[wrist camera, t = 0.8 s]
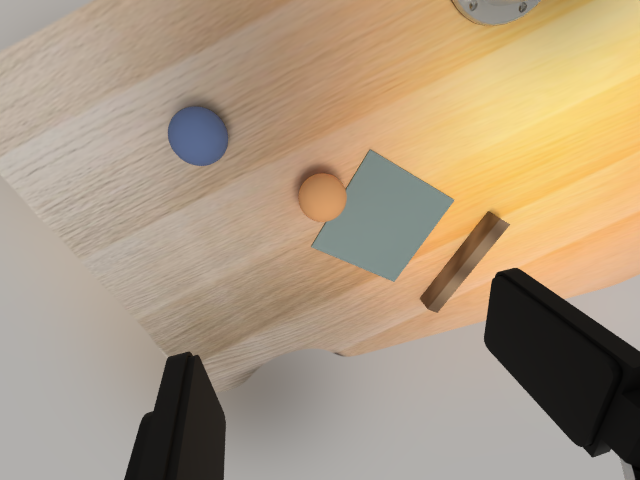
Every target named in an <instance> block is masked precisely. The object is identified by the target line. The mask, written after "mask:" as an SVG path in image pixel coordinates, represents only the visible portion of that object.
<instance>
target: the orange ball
mask: <svg viewBox="0 0 640 480" xmlns="http://www.w3.org/2000/svg"><path fill="white" fill-rule="evenodd" d="M298 199H299V205H300V208H301V209H302V211H303V213H304V214H305V215H306V216H307V217H309V218H310V219H312V220H314V221H318V222H327V221H331V220H333V219H335V218H336V217H338V216H339V215H340V214H341V213H342V211H343V210H344V208H345V205H346V201H347V195H346V190H345V188H344V186H343V184H342V183H341V181H340V180H339V179H337V178H336V177H334V176H332V175H330V174H325V173H320V174H315V175H313V176H311V177H309V178H308V179H307V180H306V181H305V182H304V183H303V184H302V186H301V188H300V191H299V196H298Z"/></svg>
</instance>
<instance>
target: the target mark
mask: <svg viewBox="0 0 640 480" xmlns="http://www.w3.org/2000/svg"><path fill="white" fill-rule="evenodd" d="M346 195H347V201H346V205H345V208H344V210H343V211H342V213H341V214H340V215H339V216H338V217H336V218H335V219H333V220H331V221H327V222H326V223H325V224H324V226H323V228H322V229H321V231H320V233H319V234H318V236H317V238H316V239H315V241H314V243H313V244H312V246H311V247H313V248H315V249H317V250H320V251H322V252H324V253H327V254H329V255H332V256H334V257H336V258H339V259H341V260H343V261H346V262H348V263H351V264H353V265H355V266H358V267H360V268H363V269H365V270H367V271H370V272H372V273H374V274H377V275H379V276H382V277H384V278H386V279H389V280H391V281H393V282H394V281H395V280H396V279H397V277H398V276H399V275H400V273H401V272H402V271H403V269H404V268H405V267H406V265H407V264H408V262H409V261H410V260H411V258H412V257H413V256H414V254H415V253H416V252H417V250H418V249H419V248H420V246H421V245H422V243H423V242H424V241H425V239H426V238H427V237H428V235H429V234H430V233H431V231H432V230H433V229H434V227H435V226H436V224H437V223H438V222H439V220H440V219H441V218H442V216H443V215H444V214H445V212H446V211H447V210H448V208H449V207H450V205H451V204H452V203H453V201H454V199H452V198H450V197H449V196H447V195H445V194H444V193H442V192H440V191H439V190H437V189H435V188H434V187H432V186H430V185H429V184H427V183H425V182H424V181H422V180H420V179H419V178H417V177H415V176H414V175H412V174H410V173H409V172H407V171H405V170H404V169H402V168H400V167H399V166H397V165H395V164H394V163H392V162H390V161H389V160H387V159H385V158H384V157H382V156H380V155H379V154H377V153H375V152H374V151H372V150H369V152H368V153H367V155H366V157H365V158H364V160H363V162H362V163H361V165H360V166H359V168H358V170H357V171H356V173H355V175H354V176H353V178H352V180H351V181H350V183H349V185H348V186H347V188H346Z"/></svg>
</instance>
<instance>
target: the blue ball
mask: <svg viewBox="0 0 640 480" xmlns="http://www.w3.org/2000/svg"><path fill="white" fill-rule="evenodd" d="M168 139H169V143H170V145H171V147H172V149H173V151H174V152H175V153H176V154H177V155H178V156H179V157H180V158H181V159H182V160H184V161H185V162H187V163H190V164H193V165H198V166H205V165H210V164H212V163H214V162H216V161H218V160H219V159H220V158H221V157H222V156H223V154H224V153H225V151H226V149H227V145H228V133H227V129H226V127H225V125H224V123H223V121H222V120H221V119H220V118H219V117H218V116H217V115H216V114H215V113H214V112H212V111H210V110H208V109H206V108H203V107H196V106H194V107H187V108H184V109H182V110H180V111H179V112H177V113H176V114H175V115H174V117H173V118H172V119H171V121H170V124H169V127H168Z"/></svg>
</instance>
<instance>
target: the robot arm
mask: <svg viewBox="0 0 640 480" xmlns="http://www.w3.org/2000/svg"><path fill="white" fill-rule="evenodd" d="M452 1H453V2H454V4H455V6H456V7H457V9H458V10H459V11H460V12H461V13H462V14H463V15H464V16H465V17H466V18H468V19H469V20H471V21H473V22H474V23H478V24H481V25H489V26H495V25H501V24H506V23H509V22H512V21H515V20H517V19H519V18H521V17H522V16H524V15H526V14H527V13H528V12H529V11H531V10H532V9H533V8H534V7H535V6H537V4H538V3H539V2H540V1H541V0H452ZM469 5H470V8H469ZM484 342H485V344H486V347H487V348H488V349H489V351H490V352H491V353H492V354H493V355H494V356H495V357H496V358H497V359H498V361H499V362H500V363H501V364H502V365H503V366H504V367H505V368H506V369H507V370H508V371H509V373H510V374H511V375H512V376H513V377H514V378H515V379H516V380H517V381H518V382H519V384H520V385H521V386H522V387H523V388H524V389H525V390H526V391H527V392H528V393H529V394H530V396H532V398H533V399H534V400H535V401H536V402H537V403H538V404H539V406H540V407H541V408H542V409H543V410H544V411H545V412H546V413H547V414H548V415H549V416H550V418H551V419H552V420H553V421H554V422H555V423H556V424H557V425H558V426H559V427H560V429H561V430H562V431H563V432H564V433H565V434H566V435H567V436H568V437H569V438H570V439H571V440H572V441H573V442H574V443H575V444H576V445H578V446H580V447H583V448H584V449H585V450H586V451H587V452H588V453H589V454H590V455H591V457H596V456H598V455H601V454H604V453H607V452H609V451H610V450H611V449H612V450H613V451H614V452H615V453H616V454H617V455H618V456H619V457H620V460H621V464H622V468H623V472H624V477H625V480H640V351H638V350H637V349H635V348H634V347H632V346H631V345H629V344H628V343H627V342H625V341H624V340H622V339H621V338H619V337H618V336H616V335H615V334H613V333H612V332H611V331H609V330H608V329H606V328H605V327H603V326H602V325H600V324H599V323H597V322H596V321H595V320H593V319H592V318H590V317H589V316H587V315H586V314H584V313H583V312H581V311H580V310H579V309H577V308H576V307H574V306H573V305H571V304H570V303H568V302H567V301H565V300H564V299H563V298H561V297H560V296H558V295H557V294H555V293H554V292H552V291H551V290H549V289H548V288H547V287H545V286H544V285H542V284H541V283H539V282H538V281H536V280H535V279H533V278H532V277H530V276H529V275H528V274H526V273H525V272H523V271H522V270H520V269H518V268H512V269H508V270H504V271H500V272H497V274H496V275H495V278H493V279H492V284H491V291H490V298H489V305H488V313H487V320H486V327H485V334H484ZM225 431H226V422H225V415H224V412H223V410H222V407H221V405H220V403H219V401H218V398H217V396H216V393H215V391H214V389H213V387H212V384H211V382H210V380H209V377H208V375H207V373H206V370H205V368H204V366H203V364H202V361H201V359H200V357H199V355H195V356H193V355H192V353H191V352H185V353H182V354H178V355H174V356H170V357H168V358H167V361H166V365H165V369H164V372H163V377H162V381H161V384H160V388H159V392H158V396H157V400H156V404H155V408H154V411H153V412H149V413H147V414H145V415H144V417H143V418H142V420H141V423H140V426H139V430H138V433H137V436H136V440H135V443H134V447H133V451H132V454H131V458H130V461H129V464H128V468H127V472H126V475H125V479H124V480H223V479H224V455H225Z"/></svg>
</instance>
